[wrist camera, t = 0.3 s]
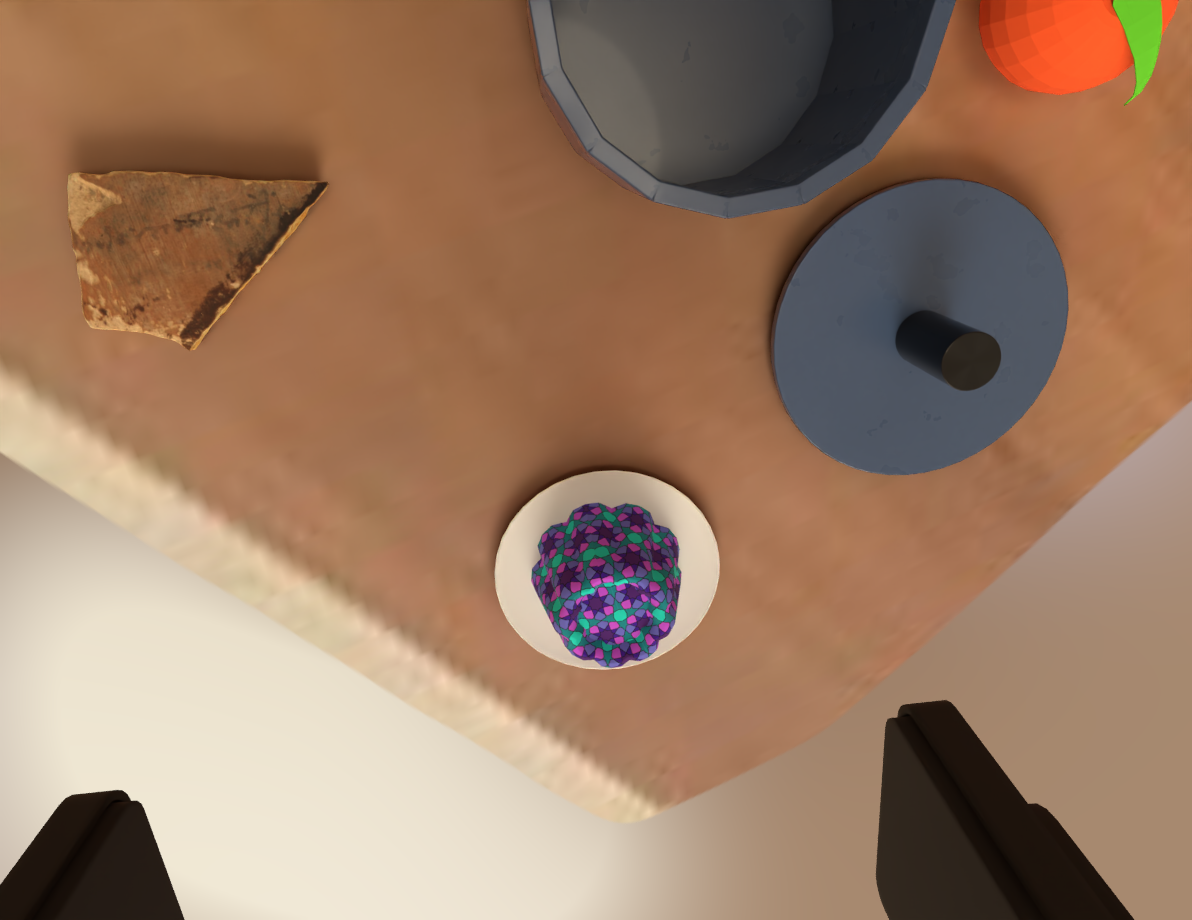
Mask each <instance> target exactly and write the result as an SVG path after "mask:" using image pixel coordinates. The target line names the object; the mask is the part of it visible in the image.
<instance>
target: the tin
mask: <svg viewBox="0 0 1192 920" xmlns="http://www.w3.org/2000/svg"><path fill="white" fill-rule="evenodd" d="M526 1H527V13H528V25H529V32H530V37H531V43H532V48H533V54H534V59H535V65H536V70H537V76H538V81H539V86H540V92H541V94H542V97H543V99H544V101H545V102H546V104H547V106H548V107H549V109H550V111H551V112H552V114H553V116H554V117H555V119H556V121H557V123H558V125H559V126H560V128H561V129H562V131H563V132H564V134H565V136H566V137H567V139H568V141H569V142H570V144H571V146H572V147H573V149H574V150H575V151H576V152H577V153H578V154H579V155H580V156H582V157H583V158H584V159H586V160H587V161H588V162H590V163H591V164H592V165H594V166H595V167H596V168H597V169H599V170H600V171H602V172H603V173H604V174H606V175H607V176H608V177H610V178H611V179H612V180H614V181H615V182H616V183H618V184H619V185H620V186H622V187H623V188H625V189H627V190H629V191H632V192H634V193H636V194H638V195H640V196H642V197H644V198H647V199H649V200H651V201H653V202H656V203H661V204H665V205H669V206H674V207H678V208H682V209H687V210H691V211H695V212H699V213H704V214H708V215H712V216H717V217H721V218H734V217H739V216H745V215H750V214H755V213H761V212H766V211H771V210H777V209H782V208H787V207H793V206H798V205H802V204H805V203H807V202H808V201H810V200H811V199H813V198H815V197H816V196H818V195H819V194H821V193H822V192H824V191H825V190H827V189H829V188H830V187H832V186H833V185H835V184H836V183H838V182H839V181H841V180H843V179H844V178H846V177H847V176H849V175H850V174H852V173H853V172H855V171H857V170H858V169H860V168H861V167H863V166H864V165H866V164H867V163H869V162H871V161H872V160H873V159H874V158H875V157H876V155H877V154H878V153H879V151H880V150H881V149H882V147H883V146H884V145H885V143H886V142H887V141H888V139H889V138H890V137H891V135H892V134H893V133H894V131H895V130H896V129H897V128H898V126H899V125H900V124H901V122H902V121H903V120H904V118H905V117H906V116H907V114H908V113H909V112H910V110H911V109H912V108H913V106H914V105H915V104H916V103H917V101H918V100H919V99H920V97H921V96H922V95H923V93H924V92H925V91H926V87H927V86H928V83H929V80H930V77H931V74H932V71H933V68H934V65H935V62H936V59H937V56H938V53H939V50H940V47H941V44H942V41H943V38H944V35H945V32H946V29H947V26H948V23H949V20H950V17H951V14H952V11H953V8H954V5H955V2H956V0H526Z"/></svg>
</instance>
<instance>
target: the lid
mask: <svg viewBox="0 0 1192 920" xmlns="http://www.w3.org/2000/svg"><path fill="white" fill-rule="evenodd" d="M1067 316H1068V288H1067V282H1066V276H1065V271H1064V267H1063V264H1062V261H1061V258H1060V254H1059V252H1058V250H1057V248H1056V246H1055V244H1054V242H1053V240H1052V238H1051V236H1050V235H1049V233H1048V232H1047V230H1046V229H1045V227H1044V226H1043V225H1042V223H1041V222H1040V221H1039V220H1038V219H1037V218H1036V217H1035V215H1034V214H1033V213H1032V212H1031V211H1030V210H1029V209H1028V208H1026V207H1025V206H1024V205H1022V204H1021V203H1020V202H1018V201H1017V200H1016V199H1014V198H1013V197H1011V196H1009V195H1007V194H1006V193H1004V192H1002V191H1000V190H998V189H996V188H993V187H990V186H987V185H984V184H981V183H978V182H973V181H967V180H961V179H947V178H931V179H922V180H914V181H909V182H905V183H902V184H898V185H894V186H891V187H888V188H886V189H883V190H881V191H878V192H876V193H873V194H871V195H870V196H868V197H866V198H864V199H862V200H861V201H859V202H857V203H855V204H853V205H852V206H851V207H849V208H848V209H846V210H845V211H844V212H842V213H841V214H840V215H838V216H837V217H836V218H834V219H833V220H832V221H831V222H830V223H829V224H828V225H827V226H826V227H825V228H824V229H823V230H822V231H820V232H819V234H818V235H817V236H816V237H815V238H814V239H813V241H812V242H811V243H810V244H809V245H808V247H807V248H806V249H805V250H804V252H803V253H802V255H801V256H800V258H799V259H798V261H797V262H796V264H795V265H794V267H793V269H792V271H791V273H790V275H789V277H788V279H787V281H786V283H785V285H784V287H783V290H782V293H781V296H780V298H779V301H778V304H777V308H776V312H775V316H774V320H773V326H772V336H771V364H772V370H773V376H774V381H775V384H776V387H777V391H778V394H779V397H780V399H781V401H782V403H783V405H784V407H785V410H786V412H787V413H788V415H789V416H790V418H791V419H792V421H793V422H794V424H795V425H796V427H797V428H798V429H799V430H800V431H801V432H802V433H803V435H804V436H805V437H806V438H807V439H808V440H809V441H810V442H811V443H812V444H813V445H814V446H816V447H817V448H818V449H819V450H821V451H822V452H823V453H824V454H826V455H828V456H830V457H831V458H833V459H835V460H836V461H838V462H840V463H842V464H845V465H847V466H850V467H852V468H855V469H858V470H862V471H866V472H870V473H877V474H885V475H909V474H917V473H925V472H929V471H933V470H937V469H941V468H944V467H947V466H949V465H952V464H955V463H957V462H960V461H962V460H964V459H966V458H968V457H970V456H972V455H974V454H976V453H978V452H979V451H981V450H982V449H984V448H986V447H987V446H989V445H990V444H992V443H993V442H995V441H996V440H997V439H998V438H999V437H1001V436H1002V435H1003V434H1004V433H1006V432H1007V431H1008V430H1009V429H1010V428H1011V427H1012V426H1013V425H1014V424H1015V423H1016V422H1017V421H1018V420H1019V419H1020V418H1021V417H1022V416H1023V415H1024V414H1025V413H1026V411H1027V410H1028V409H1029V408H1030V406H1031V405H1032V404H1033V403H1034V401H1035V400H1036V399H1037V397H1038V395H1039V394H1040V392H1041V391H1042V389H1043V388H1044V386H1045V385H1046V383H1047V381H1048V379H1049V377H1050V375H1051V373H1052V371H1053V369H1054V367H1055V364H1056V362H1057V359H1058V356H1059V353H1060V351H1061V348H1062V344H1063V340H1064V335H1065V331H1066V325H1067Z"/></svg>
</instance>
